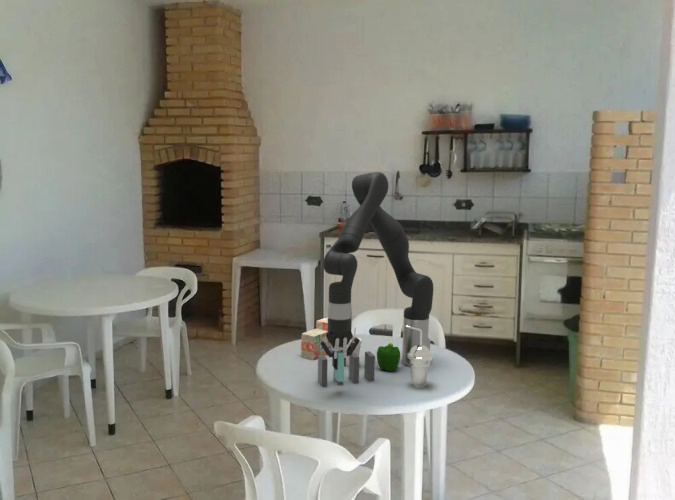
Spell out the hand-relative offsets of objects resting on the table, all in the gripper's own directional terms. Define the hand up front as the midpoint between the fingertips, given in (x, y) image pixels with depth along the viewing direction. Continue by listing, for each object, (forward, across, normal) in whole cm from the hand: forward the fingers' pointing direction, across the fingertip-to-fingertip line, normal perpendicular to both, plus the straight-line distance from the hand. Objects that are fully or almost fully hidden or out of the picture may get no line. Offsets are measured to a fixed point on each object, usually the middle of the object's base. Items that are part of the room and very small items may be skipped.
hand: (339, 368), depth 204 cm
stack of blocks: (+9, -7, -42) cm, 43 cm away
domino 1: (+8, +3, -9) cm, 12 cm away
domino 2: (+4, 0, +1) cm, 4 cm away
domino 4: (+8, -8, -9) cm, 15 cm away
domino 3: (+8, -3, -9) cm, 12 cm away
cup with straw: (+9, -28, 0) cm, 29 cm away
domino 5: (+8, -14, -9) cm, 18 cm away
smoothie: (+8, -13, -24) cm, 28 cm away
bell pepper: (+9, -24, -17) cm, 30 cm away
